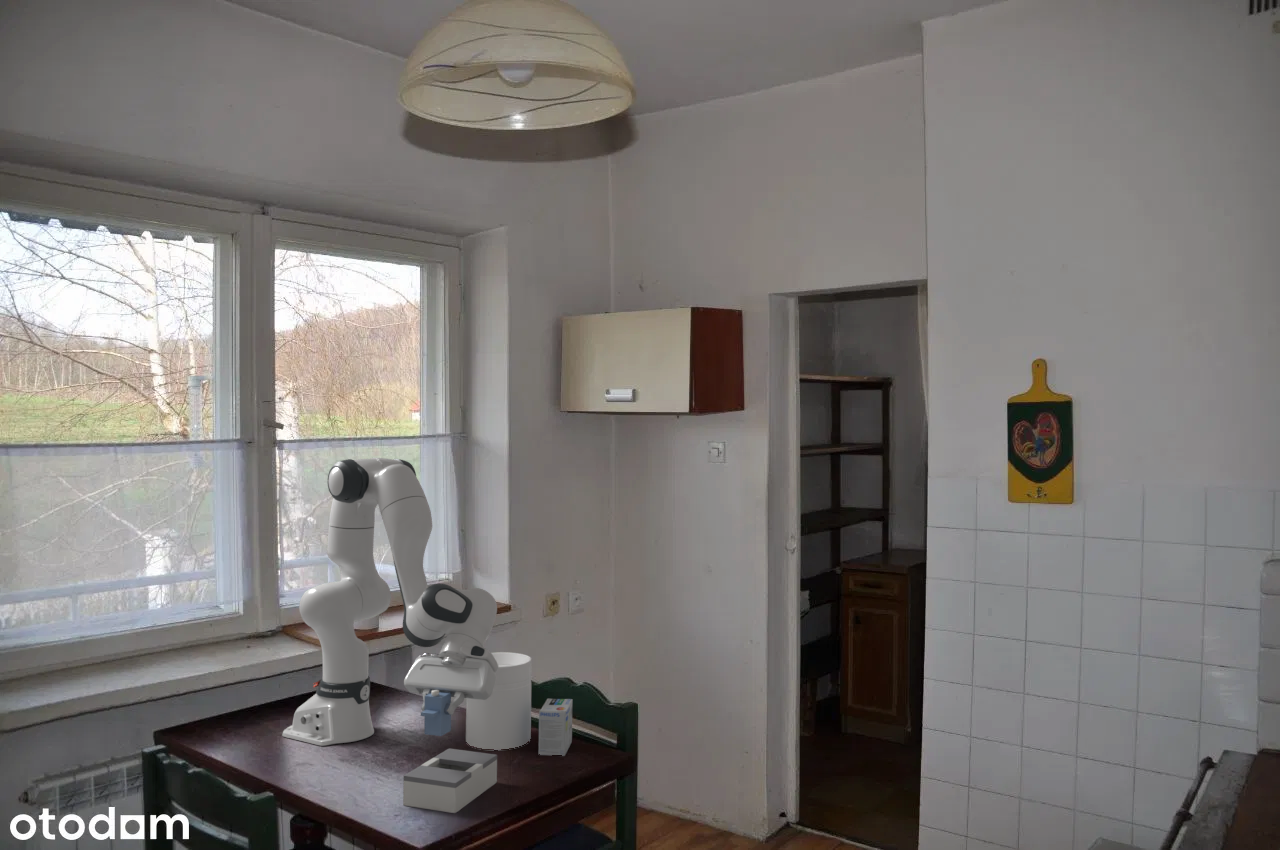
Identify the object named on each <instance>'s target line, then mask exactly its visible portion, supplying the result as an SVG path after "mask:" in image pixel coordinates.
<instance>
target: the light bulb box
mask: <svg viewBox="0 0 1280 850" xmlns="http://www.w3.org/2000/svg"><path fill="white" fill-rule="evenodd" d="M572 742H573V699H572V698H546V700H545V702H544V703H543V705H542V707H541V708H540V709H539V710H538V755H539V754H540V755H539V756H552V755H562V756H561V757H565V756H566V754H567V753H568V750H569V748H570V746H571V744H572Z"/></svg>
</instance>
